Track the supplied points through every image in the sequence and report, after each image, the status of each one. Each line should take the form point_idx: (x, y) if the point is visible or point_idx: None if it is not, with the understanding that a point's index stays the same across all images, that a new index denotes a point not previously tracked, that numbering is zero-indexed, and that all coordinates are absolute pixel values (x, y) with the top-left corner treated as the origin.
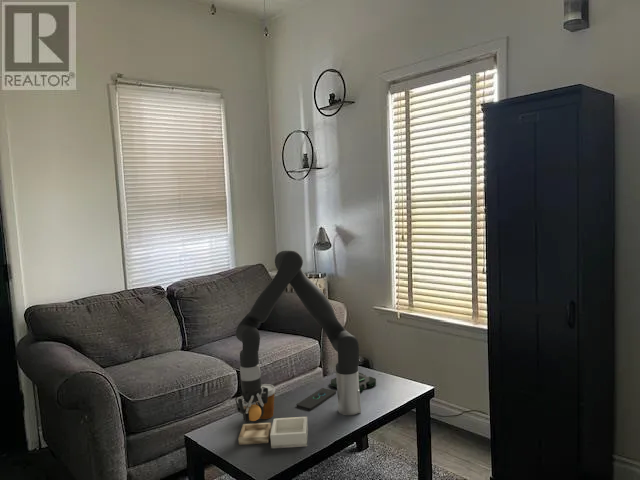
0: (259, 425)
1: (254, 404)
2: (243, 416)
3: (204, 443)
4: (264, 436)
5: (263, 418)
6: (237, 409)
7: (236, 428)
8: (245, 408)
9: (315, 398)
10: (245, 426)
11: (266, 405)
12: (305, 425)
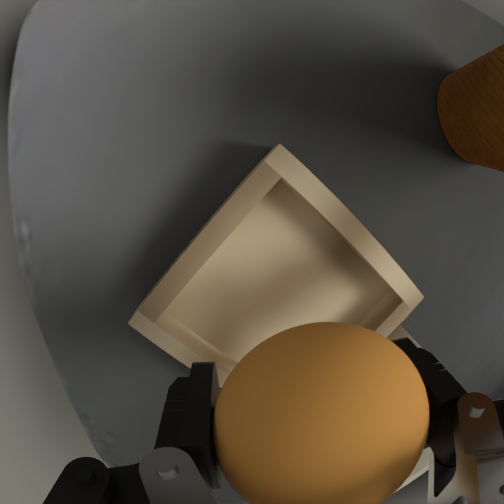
0: (363, 256)
1: (383, 496)
2: (163, 421)
3: (15, 129)
4: None
5: (448, 137)
6: (51, 489)
7: (250, 79)
8: (206, 497)
9: None
10: (280, 177)
11: None
12: (418, 474)
